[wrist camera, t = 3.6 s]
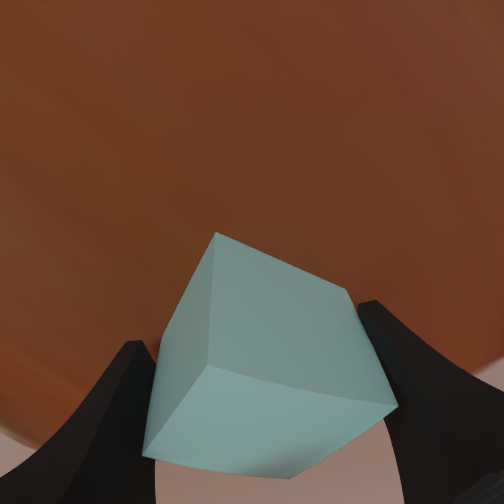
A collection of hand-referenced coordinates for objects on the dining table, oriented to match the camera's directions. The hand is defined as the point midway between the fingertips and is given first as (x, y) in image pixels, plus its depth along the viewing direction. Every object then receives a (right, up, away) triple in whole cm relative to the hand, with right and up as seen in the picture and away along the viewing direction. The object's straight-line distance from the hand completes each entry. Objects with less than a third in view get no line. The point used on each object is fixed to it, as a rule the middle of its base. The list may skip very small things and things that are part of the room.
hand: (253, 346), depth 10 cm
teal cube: (0, +1, +1) cm, 1 cm away
